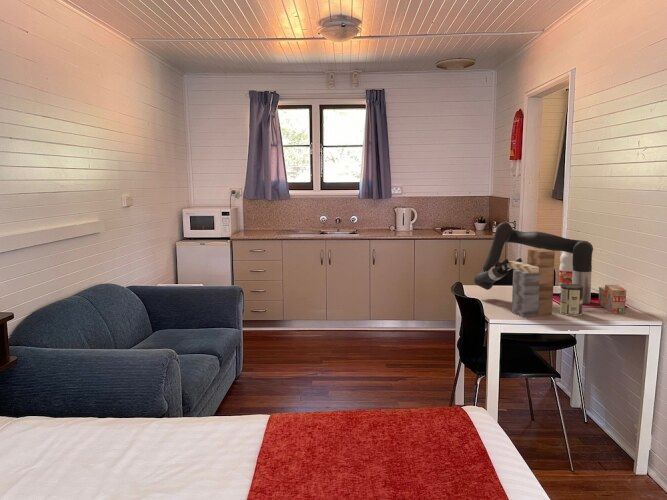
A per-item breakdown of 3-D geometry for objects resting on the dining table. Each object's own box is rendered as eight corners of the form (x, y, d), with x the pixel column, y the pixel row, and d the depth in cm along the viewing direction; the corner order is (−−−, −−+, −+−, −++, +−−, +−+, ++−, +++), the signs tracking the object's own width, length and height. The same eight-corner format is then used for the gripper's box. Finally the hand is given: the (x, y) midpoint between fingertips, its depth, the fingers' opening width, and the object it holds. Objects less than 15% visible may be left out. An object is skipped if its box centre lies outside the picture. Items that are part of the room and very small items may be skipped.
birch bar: (538, 273, 247) (538, 267, 246) (531, 273, 246) (531, 267, 245) (514, 266, 266) (514, 260, 266) (507, 267, 265) (507, 261, 265)
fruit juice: (578, 290, 309) (581, 243, 305) (569, 292, 304) (571, 245, 300) (564, 287, 317) (566, 242, 313) (555, 289, 312) (557, 243, 308)
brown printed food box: (598, 303, 276) (599, 281, 275) (610, 303, 275) (612, 281, 273) (611, 313, 255) (612, 289, 254) (625, 314, 254) (626, 289, 253)
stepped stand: (552, 315, 254) (554, 251, 250) (523, 317, 250) (526, 252, 246) (539, 310, 264) (541, 248, 259) (511, 312, 260) (513, 250, 255)
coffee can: (571, 310, 263) (573, 283, 261) (586, 315, 253) (588, 287, 251) (554, 311, 260) (556, 284, 258) (569, 316, 250) (570, 288, 249)
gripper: (484, 265, 276) (500, 254, 262) (508, 264, 280) (524, 252, 265) (488, 278, 274) (503, 267, 259) (511, 277, 277) (528, 266, 262)
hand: (514, 260), depth 262 cm, fingers open, 7 cm apart
